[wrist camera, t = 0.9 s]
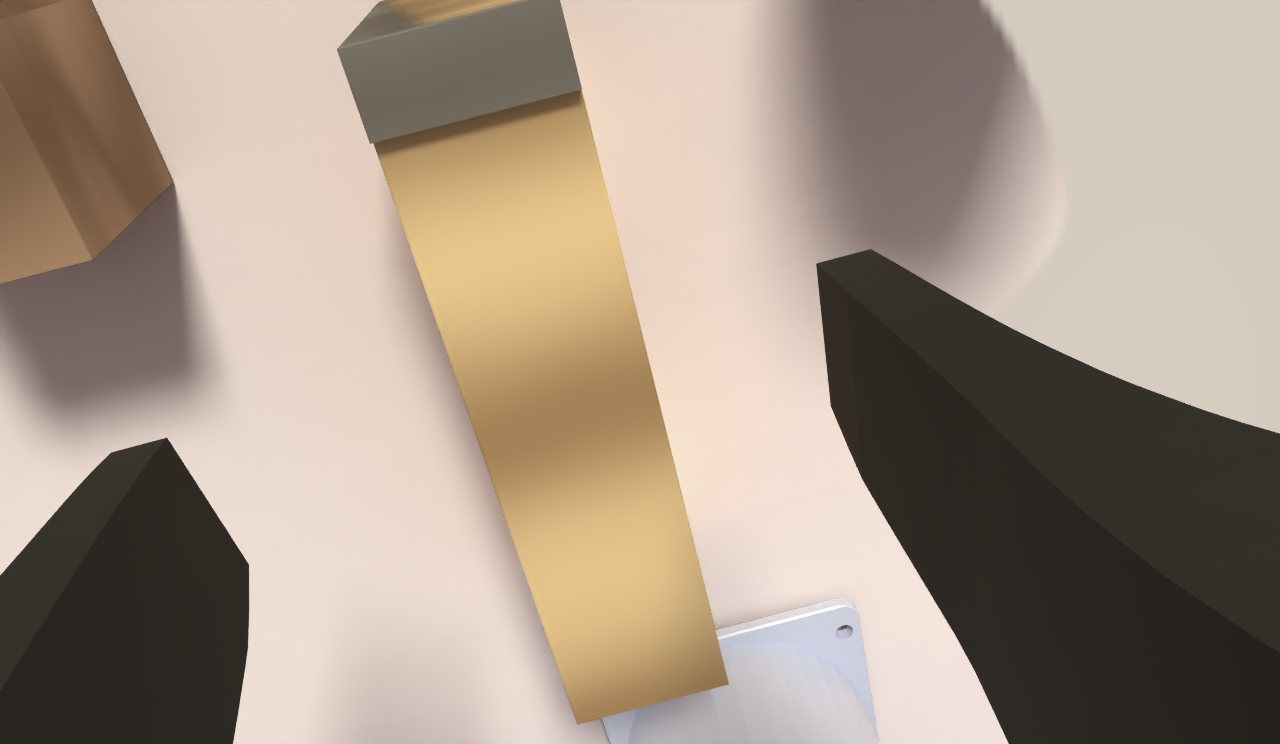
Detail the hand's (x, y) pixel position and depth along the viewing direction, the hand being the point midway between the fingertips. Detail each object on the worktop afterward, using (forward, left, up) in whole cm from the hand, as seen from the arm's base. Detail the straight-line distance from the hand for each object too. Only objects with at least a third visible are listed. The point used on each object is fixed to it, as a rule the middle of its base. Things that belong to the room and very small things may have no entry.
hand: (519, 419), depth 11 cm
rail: (-4, 0, -13) cm, 14 cm away
